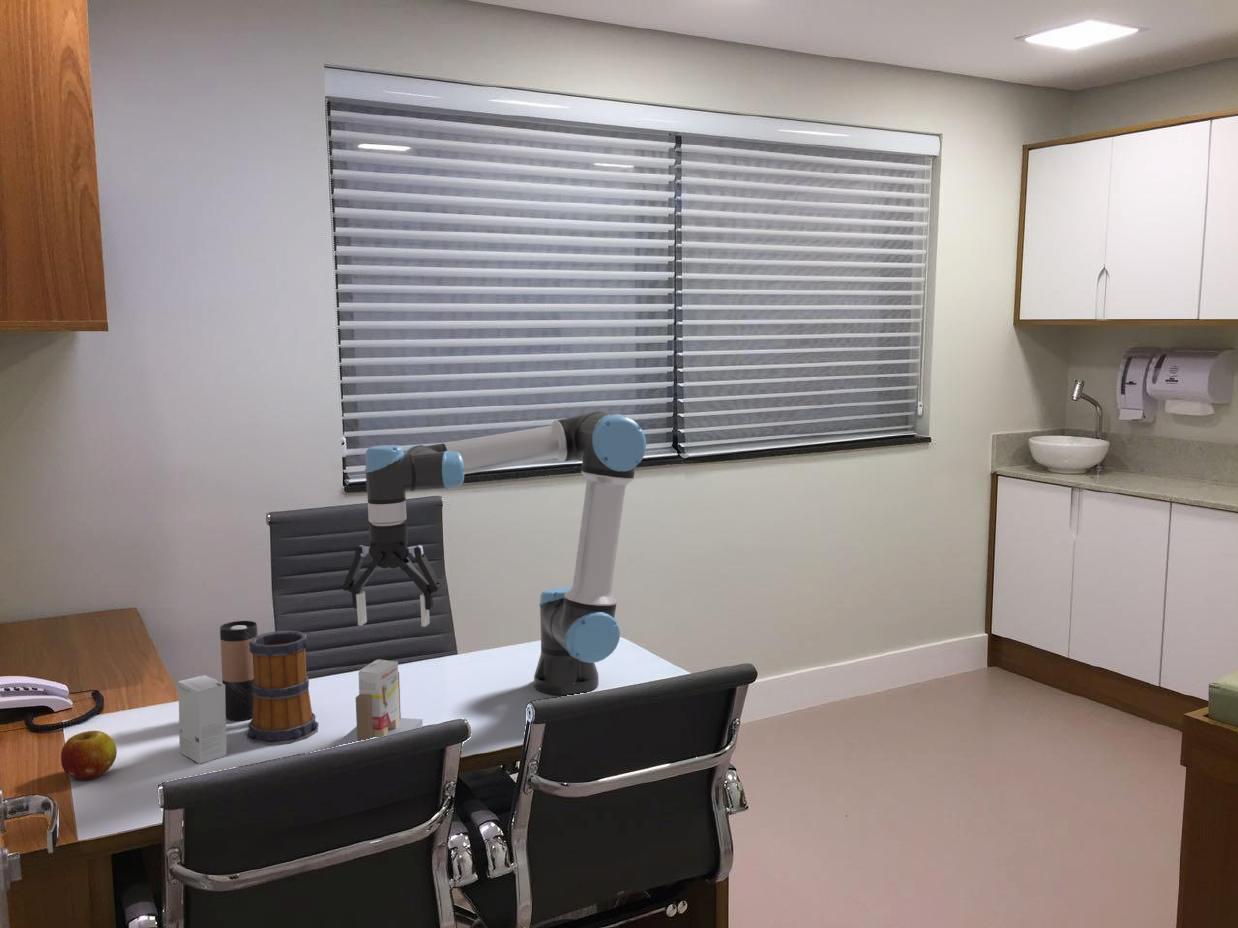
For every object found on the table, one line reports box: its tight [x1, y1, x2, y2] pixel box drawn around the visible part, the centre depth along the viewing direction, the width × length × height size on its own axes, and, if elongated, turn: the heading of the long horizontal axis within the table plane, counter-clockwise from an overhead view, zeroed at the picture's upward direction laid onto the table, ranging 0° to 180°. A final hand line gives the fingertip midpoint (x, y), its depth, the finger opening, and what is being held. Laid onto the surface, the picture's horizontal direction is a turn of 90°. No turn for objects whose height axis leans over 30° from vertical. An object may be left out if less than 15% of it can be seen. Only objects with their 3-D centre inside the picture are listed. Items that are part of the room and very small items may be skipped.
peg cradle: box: [334, 671, 423, 747], centre depth 207 cm, size 12×16×12 cm
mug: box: [245, 630, 319, 746], centre depth 213 cm, size 19×14×20 cm
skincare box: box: [177, 674, 227, 764], centre depth 199 cm, size 8×6×15 cm
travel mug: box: [219, 620, 258, 722], centre depth 220 cm, size 8×8×20 cm
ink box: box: [358, 659, 399, 730], centre depth 206 cm, size 9×5×12 cm, turn 166°
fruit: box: [60, 730, 118, 781], centre depth 191 cm, size 10×9×8 cm
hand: (393, 624), depth 209 cm, fingers open, 13 cm apart
